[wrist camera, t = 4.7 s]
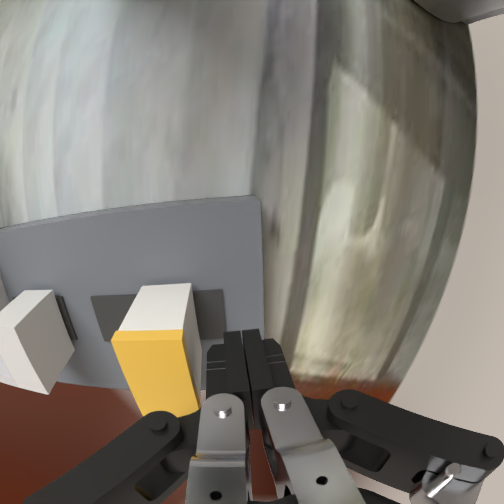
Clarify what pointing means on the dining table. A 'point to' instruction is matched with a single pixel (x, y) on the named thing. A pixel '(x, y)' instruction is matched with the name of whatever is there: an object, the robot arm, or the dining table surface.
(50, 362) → the block
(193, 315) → the tagged breaker
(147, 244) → the panel
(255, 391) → the robot arm
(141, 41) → the dining table surface
